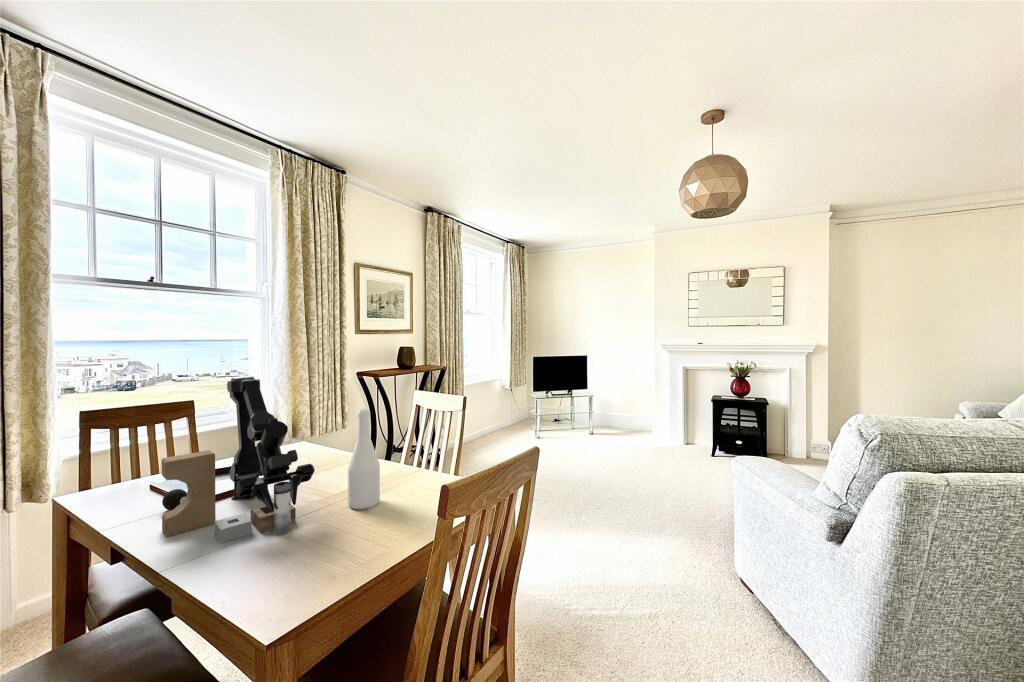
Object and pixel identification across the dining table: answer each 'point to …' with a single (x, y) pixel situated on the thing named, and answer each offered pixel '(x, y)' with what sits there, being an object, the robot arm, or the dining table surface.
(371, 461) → the wine bottle
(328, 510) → the dining table surface
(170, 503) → the billiard ball
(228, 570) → the dining table surface
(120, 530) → the dining table surface
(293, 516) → the walnut block
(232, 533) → the slate block
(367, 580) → the dining table surface
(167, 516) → the decorative block
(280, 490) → the cylinder
